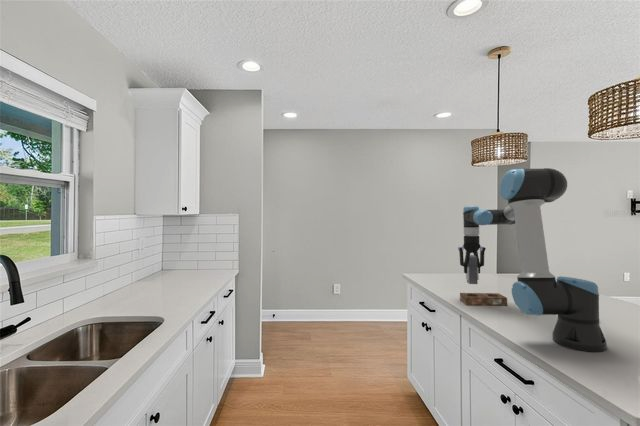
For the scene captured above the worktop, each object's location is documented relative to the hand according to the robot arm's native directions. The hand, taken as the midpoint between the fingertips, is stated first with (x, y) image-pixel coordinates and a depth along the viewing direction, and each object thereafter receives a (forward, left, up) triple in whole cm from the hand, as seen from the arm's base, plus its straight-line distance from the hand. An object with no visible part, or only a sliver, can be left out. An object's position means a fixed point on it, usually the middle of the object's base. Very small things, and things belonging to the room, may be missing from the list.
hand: (472, 279), depth 171 cm
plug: (0, 0, -2) cm, 2 cm away
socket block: (0, -5, -12) cm, 13 cm away
